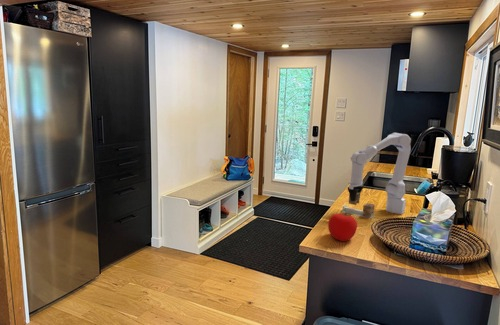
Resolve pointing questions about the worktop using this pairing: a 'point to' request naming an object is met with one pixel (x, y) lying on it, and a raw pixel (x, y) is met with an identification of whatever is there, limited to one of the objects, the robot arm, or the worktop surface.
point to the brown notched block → (355, 199)
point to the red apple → (342, 226)
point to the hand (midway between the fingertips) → (354, 199)
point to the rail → (354, 211)
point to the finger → (368, 210)
